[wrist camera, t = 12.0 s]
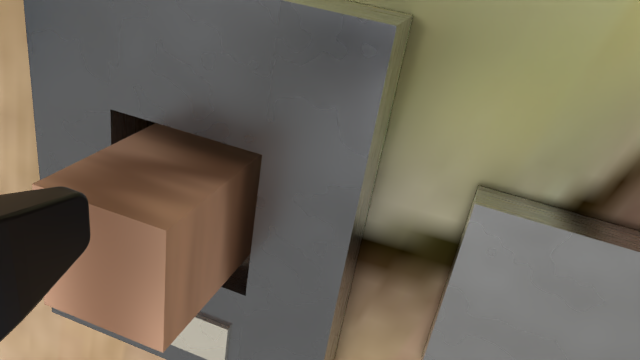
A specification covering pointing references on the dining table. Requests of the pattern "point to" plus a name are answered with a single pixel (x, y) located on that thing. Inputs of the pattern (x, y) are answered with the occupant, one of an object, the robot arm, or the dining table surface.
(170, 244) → the peg
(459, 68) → the dining table surface
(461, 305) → the tray
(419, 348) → the dining table surface
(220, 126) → the plate
